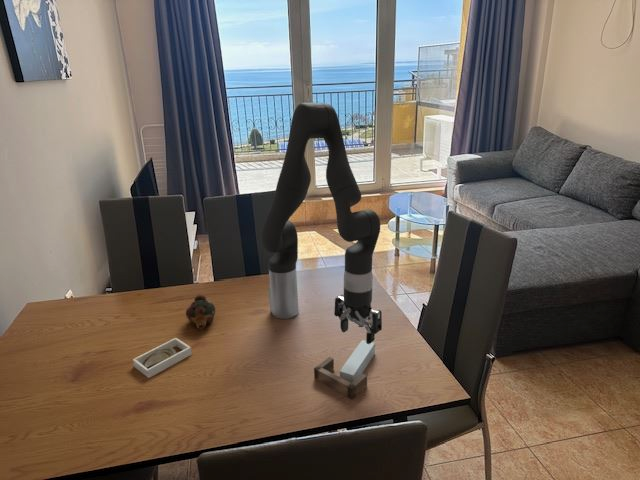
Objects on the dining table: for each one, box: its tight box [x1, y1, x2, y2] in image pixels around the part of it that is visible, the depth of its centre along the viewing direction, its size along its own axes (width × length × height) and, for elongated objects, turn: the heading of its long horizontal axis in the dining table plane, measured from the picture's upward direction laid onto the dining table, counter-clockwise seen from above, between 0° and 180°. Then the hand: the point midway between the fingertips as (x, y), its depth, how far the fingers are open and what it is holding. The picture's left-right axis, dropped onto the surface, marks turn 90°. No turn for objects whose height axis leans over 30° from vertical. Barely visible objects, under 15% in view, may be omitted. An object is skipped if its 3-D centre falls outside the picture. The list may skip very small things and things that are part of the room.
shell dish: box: [132, 337, 193, 379], centre depth 131 cm, size 8×14×2 cm, turn 139°
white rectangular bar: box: [339, 339, 376, 383], centre depth 125 cm, size 4×16×4 cm, turn 153°
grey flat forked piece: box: [336, 295, 368, 327], centre depth 155 cm, size 21×7×2 cm, turn 11°
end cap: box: [313, 356, 368, 400], centre depth 119 cm, size 13×6×4 cm, turn 49°
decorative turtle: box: [185, 292, 216, 330], centre depth 150 cm, size 10×15×8 cm, turn 19°
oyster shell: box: [142, 347, 178, 369], centre depth 130 cm, size 6×4×10 cm
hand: (357, 336), depth 122 cm, fingers open, 8 cm apart
